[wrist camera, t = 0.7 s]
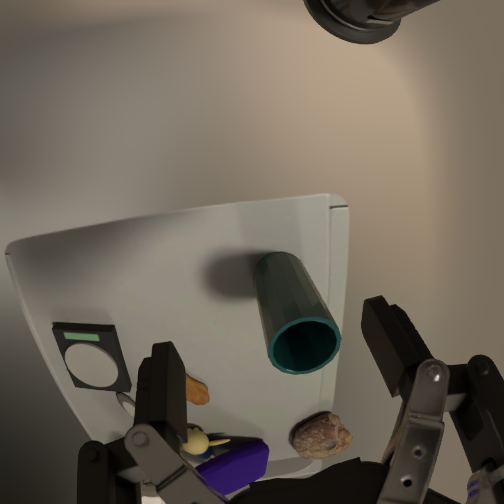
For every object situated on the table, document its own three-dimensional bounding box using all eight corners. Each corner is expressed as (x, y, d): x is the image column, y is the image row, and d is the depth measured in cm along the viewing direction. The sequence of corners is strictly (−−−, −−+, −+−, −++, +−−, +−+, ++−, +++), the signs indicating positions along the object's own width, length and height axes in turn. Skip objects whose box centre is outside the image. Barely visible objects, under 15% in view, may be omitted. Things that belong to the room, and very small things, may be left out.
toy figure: (212, 459, 50) (206, 479, 46) (171, 440, 49) (163, 460, 45) (239, 441, 45) (233, 464, 41) (191, 420, 45) (183, 442, 40)
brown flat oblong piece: (182, 401, 43) (213, 393, 44) (183, 412, 42) (215, 404, 42) (160, 370, 40) (194, 361, 40) (161, 382, 38) (195, 372, 38)
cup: (253, 252, 35) (269, 319, 23) (306, 251, 35) (346, 313, 23) (252, 299, 37) (266, 377, 25) (302, 297, 38) (334, 370, 26)
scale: (56, 322, 36) (50, 330, 34) (114, 325, 37) (110, 334, 35) (78, 380, 40) (74, 389, 38) (132, 385, 41) (129, 395, 39)
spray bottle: (272, 443, 46) (135, 495, 31) (265, 478, 48) (147, 526, 34) (261, 433, 48) (127, 481, 34) (256, 469, 51) (139, 514, 36)
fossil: (283, 428, 46) (344, 429, 42) (291, 407, 50) (348, 406, 46) (299, 465, 49) (351, 466, 45) (305, 445, 54) (354, 445, 50)
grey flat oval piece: (113, 391, 42) (111, 396, 41) (125, 388, 42) (123, 393, 41) (135, 417, 44) (133, 422, 43) (146, 415, 44) (145, 419, 43)
